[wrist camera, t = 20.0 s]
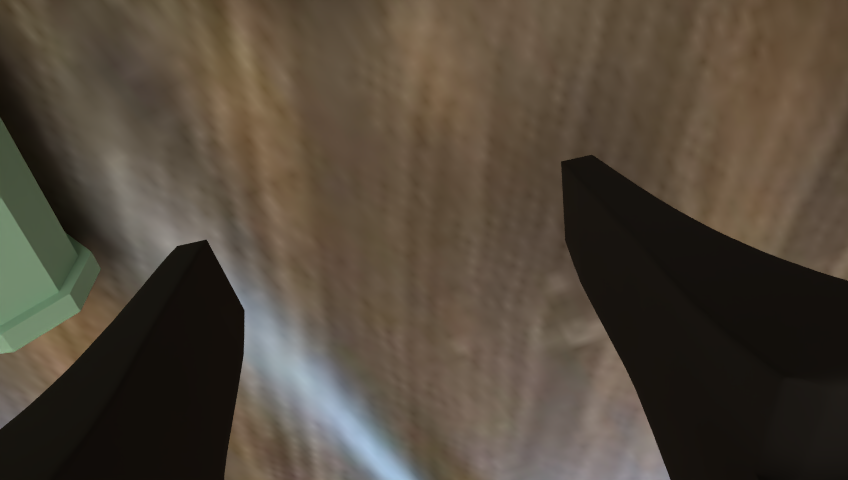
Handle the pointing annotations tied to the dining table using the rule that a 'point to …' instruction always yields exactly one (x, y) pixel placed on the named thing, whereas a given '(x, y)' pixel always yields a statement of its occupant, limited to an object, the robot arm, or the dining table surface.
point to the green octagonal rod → (35, 257)
